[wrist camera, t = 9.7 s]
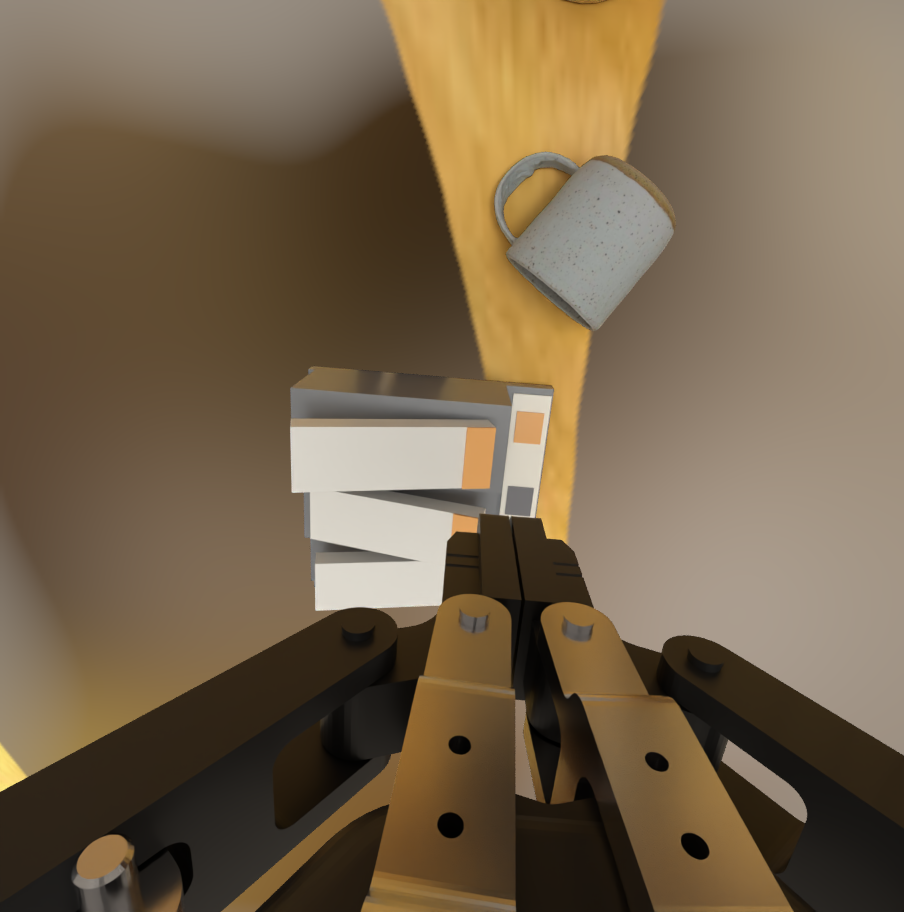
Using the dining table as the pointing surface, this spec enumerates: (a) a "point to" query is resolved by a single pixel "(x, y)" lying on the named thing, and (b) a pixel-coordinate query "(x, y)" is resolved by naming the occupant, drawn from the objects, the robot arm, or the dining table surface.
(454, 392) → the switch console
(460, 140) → the dining table surface
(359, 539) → the middle rocker
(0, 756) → the dining table surface
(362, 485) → the front rocker
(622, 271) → the ceramic mug
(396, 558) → the block
